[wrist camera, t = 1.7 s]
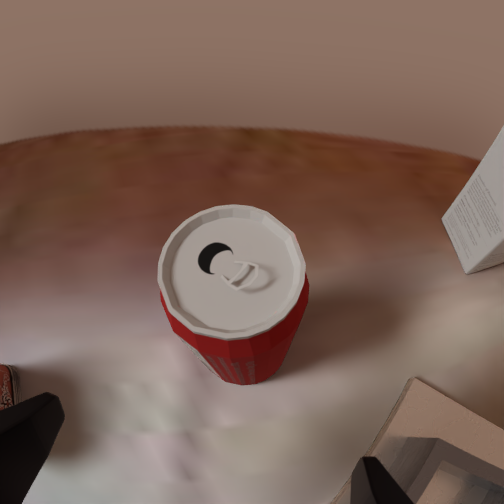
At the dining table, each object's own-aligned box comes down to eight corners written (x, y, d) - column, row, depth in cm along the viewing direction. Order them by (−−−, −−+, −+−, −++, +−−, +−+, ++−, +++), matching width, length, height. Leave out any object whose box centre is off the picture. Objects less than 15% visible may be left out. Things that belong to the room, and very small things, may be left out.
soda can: (302, 338, 21) (347, 248, 10) (251, 402, 19) (243, 385, 8) (237, 291, 23) (221, 171, 12) (185, 350, 21) (114, 272, 10)
